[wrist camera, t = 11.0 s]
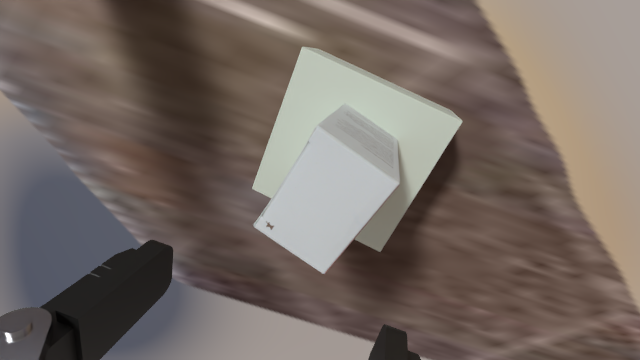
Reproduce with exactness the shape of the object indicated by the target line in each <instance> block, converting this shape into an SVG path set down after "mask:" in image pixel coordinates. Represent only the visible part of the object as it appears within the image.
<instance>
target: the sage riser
mask: <svg viewBox="0 0 640 360" xmlns="http://www.w3.org/2000/svg"><path fill="white" fill-rule="evenodd" d="M344 103H346V104H347V105H349V106H350V107H352V108H353V109H355V110H356V111H358V112H359V113H361V114H362V115H363V116H365V117H366V118H368V119H369V120H371V121H372V122H374V123H375V124H376V125H378V126H379V127H381V128H382V129H384V130H385V131H386V132H388V133H389V134H391V135H392V136H393V137H395V138H396V139H397V140H398V153H399V170H400V185H399V187H398V188H397V189H396V190H395V191H394V192H393V193H392V195H391V196H390V197H389V198H388V199H387V201H386V202H385V203H384V204H383V205H382V207H381V208H380V209H379V210H378V211H377V213H376V214H375V215H374V216H373V217H372V219H371V220H370V221H369V222H368V223H367V225H366V226H365V227H364V228H363V229H362V231H361V232H360V233H359V234H358V235H357V236H356V238H355V240H357V241H359V242H361V243H363V244H365V245H367V246H369V247H371V248H373V249H375V250H377V251H379V252H381V250H382V249H383V247H384V245H385V244H386V242H387V241H388V239H389V238H390V236H391V234H392V233H393V231H394V230H395V228H396V226H397V225H398V223H399V222H400V220H401V218H402V217H403V215H404V214H405V212H406V210H407V209H408V207H409V206H410V204H411V203H412V201H413V199H414V198H415V196H416V195H417V193H418V191H419V190H420V188H421V187H422V185H423V183H424V182H425V180H426V179H427V177H428V176H429V174H430V172H431V171H432V169H433V168H434V166H435V164H436V163H437V161H438V160H439V158H440V156H441V155H442V153H443V152H444V150H445V148H446V147H447V145H448V144H449V142H450V141H451V139H452V137H453V136H454V134H455V133H456V131H457V129H458V128H459V126H460V125H461V123H462V120H461V119H460V118H459V117H458V116H457V115H455V114H454V113H453V112H452V111H451V110H449V109H447V108H445V107H443V106H440V105H438V104H436V103H434V102H432V101H430V100H427V99H425V98H423V97H421V96H419V95H417V94H415V93H412V92H410V91H408V90H406V89H404V88H402V87H399V86H397V85H395V84H393V83H391V82H389V81H387V80H384V79H382V78H380V77H378V76H376V75H374V74H371V73H369V72H367V71H365V70H363V69H361V68H359V67H356V66H354V65H352V64H350V63H348V62H346V61H344V60H341V59H339V58H337V57H335V56H333V55H331V54H328V53H326V52H324V51H322V50H320V49H316V48H309V47H302V49H301V52H300V55H299V58H298V60H297V63H296V66H295V69H294V72H293V75H292V77H291V80H290V83H289V86H288V89H287V91H286V94H285V97H284V100H283V103H282V105H281V108H280V111H279V114H278V117H277V120H276V122H275V125H274V128H273V131H272V134H271V136H270V139H269V142H268V145H267V148H266V150H265V153H264V156H263V159H262V162H261V165H260V167H259V170H258V173H257V176H256V179H255V181H254V184H253V187H252V189H254V190H256V191H258V192H260V193H262V194H264V195H266V196H268V197H270V198H272V197H273V196H274V194H275V193H276V191H277V189H278V188H279V186H280V185H281V183H282V182H283V180H284V178H285V177H286V175H287V174H288V172H289V170H290V169H291V167H292V166H293V164H294V162H295V161H296V159H297V158H298V156H299V154H300V153H301V151H302V149H303V148H304V146H305V144H306V143H307V141H308V139H309V137H310V136H311V134H312V132H313V130H314V128H315V127H316V126H317V125H318V124H319V123H320V122H322V121H323V120H324V119H325V118H327V117H328V116H329V115H330V114H332V113H333V112H334V111H336V110H337V109H338V108H339V107H340V106H342V105H343V104H344Z"/></svg>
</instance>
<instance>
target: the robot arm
mask: <svg viewBox="0 0 640 360" xmlns="http://www.w3.org/2000/svg"><path fill="white" fill-rule="evenodd" d="M172 264H173V248H172V247H171V246H169V245H166V244H163V243H160V242H158V241H155V240H150V241H148V242H146V243H145V244H144V245H142V246H141V247H140V248H138V249H137V250H135V249H133V248H132V249H129V250H126V251H124V252H121V253H118V254H116V255H114V256H113V257H111V258H110V259H108V260H107V261H106V262H104V263H103V264H102V265H101V266H98V267H97V268H96V269H94V270H93V271H91V273H90V274H87V275H86V276H84V277H83V278H81V279H80V280H79V281H77V282H76V283H74V284H73V285H71V286H70V287H69V288H67V289H66V290H64V291H63V292H62V293H60V294H59V295H57V296H56V297H54V298H53V299H52V300H50V301H49V302H47V303H46V304H44V305H43V306H41V307H39V308H38V307H30V308H22V309H18V310H14V311H11V312H9V313H6V314H4V315H2V316H1V317H0V360H100V359H101V358H102V357H103V355H105V354H106V353H107V351H109V349H110V348H112V346H113V345H115V343H116V342H117V341H118V340H119V339H120V338H121V337H122V336H123V335H124V334H125V333H126V332H127V331H128V330H129V329H130V328H131V327H132V326H133V325H134V324H135V323H136V322H137V321H138V320H139V319H140V318H141V317H142V316H143V315H144V314H145V313H146V312H147V311H148V310H149V309H150V308H151V307H152V306H153V305H154V304H155V303H156V302H157V301H158V299H160V298H161V296H163V294H164V293H165V292H166V290H167V289H168V287H169V285H170V283H171V279H172ZM369 360H421V359H420V357H419V355H418V354H416V353H413V352H410V351H408V348H407V334H406V332H404V331H402V330H399V329H396V328H393V327H391V326H388V325H385V324H384V325H383V327H382V329H381V331H380V333H379V335H378V338H377V340H376V342H375V344H374V347H373V349H372V351H371V353H370V356H369Z"/></svg>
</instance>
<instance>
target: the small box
mask: <svg viewBox="0 0 640 360" xmlns="http://www.w3.org/2000/svg"><path fill="white" fill-rule="evenodd" d="M399 185H400V170H399V153H398V140H397V139H396V138H395V137H393V136H392V135H391V134H389V133H388V132H386V131H385V130H384V129H382V128H381V127H379V126H378V125H376V124H375V123H374V122H372V121H371V120H369V119H368V118H366V117H365V116H363V115H362V114H361V113H359V112H358V111H356V110H355V109H353V108H352V107H350V106H349V105H347V104H346V103H344V104H343V105H342V106H340V107H339V108H338V109H337V110H336V111H334V112H333V113H332V114H330V115H329V116H328V117H327V118H325V119H324V120H323V121H322V122H320V123H319V124H318V125H317V126H316V127H315V128H314V130H313V132H312V134H311V136H310V137H309V139H308V141H307V143H306V144H305V146H304V148H303V149H302V151H301V153H300V154H299V156H298V158H297V159H296V161H295V162H294V164H293V166H292V167H291V169H290V170H289V172H288V174H287V175H286V177H285V178H284V180H283V182H282V183H281V185H280V186H279V188H278V189H277V191H276V193H275V194H274V196H273V197H272V199H271V200H270V202H269V203H268V205H267V206H266V208H265V209H264V211H263V212H262V214H261V215H260V216H259V218H258V219H257V221H256V222H255V223H254V227H255V228H256V229H258V230H259V231H261V232H262V233H264V234H265V235H266V236H268V237H269V238H271V239H272V240H274V241H275V242H277V243H278V244H280V245H281V246H283V247H284V248H286V249H287V250H289V251H290V252H291V253H293V254H294V255H296V256H297V257H299V258H300V259H302V260H303V261H305V262H306V263H308V264H309V265H311V266H312V267H314V268H315V269H317V270H318V271H320V272H321V273H323V274H326V273H327V271H328V270H329V269H330V268H331V266H332V265H333V264H334V263H335V262H336V260H337V259H338V258H339V257H340V256H341V254H342V253H343V252H344V251H345V250H346V248H347V247H348V246H349V245H350V244H351V242H352V241H353V240H354V239H355V238H356V236H357V235H358V234H359V233H360V232H361V231H362V229H363V228H364V227H365V226H366V225H367V223H368V222H369V221H370V220H371V219H372V217H373V216H374V215H375V214H376V213H377V211H378V210H379V209H380V208H381V207H382V205H383V204H384V203H385V202H386V201H387V199H388V198H389V197H390V196H391V195H392V193H393V192H394V191H395V190H396V189H397V188H398V187H399Z"/></svg>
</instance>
